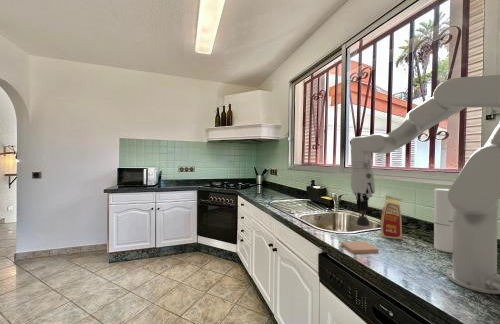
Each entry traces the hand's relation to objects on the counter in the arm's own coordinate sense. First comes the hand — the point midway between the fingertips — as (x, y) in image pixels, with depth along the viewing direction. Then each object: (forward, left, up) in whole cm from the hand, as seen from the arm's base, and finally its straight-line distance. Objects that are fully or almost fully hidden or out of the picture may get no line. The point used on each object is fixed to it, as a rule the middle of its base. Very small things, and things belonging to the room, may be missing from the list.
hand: (362, 209), depth 93 cm
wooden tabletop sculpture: (-1, 0, -6) cm, 6 cm away
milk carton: (+15, -25, -17) cm, 33 cm away
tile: (+1, -4, -16) cm, 17 cm away
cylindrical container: (-3, -35, -17) cm, 39 cm away
